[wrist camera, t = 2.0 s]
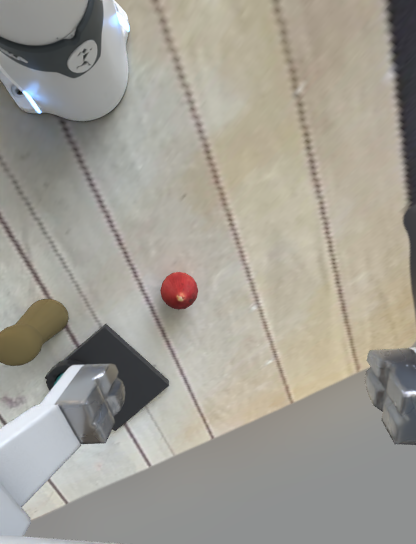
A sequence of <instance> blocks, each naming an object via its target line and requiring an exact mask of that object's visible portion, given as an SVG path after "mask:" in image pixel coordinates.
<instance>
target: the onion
mask: <svg viewBox="0 0 416 544" xmlns="http://www.w3.org/2000/svg"><path fill="white" fill-rule="evenodd" d="M197 293H198V289H197V284H196V282H195V281H194V279H193V278H192V277H191V276H189V275H188V274H186V273H181V272H176V273H172V274H170V275H169V276H167V277H166V279H165V280H164V281H163V283H162V287H161V296H162V299H163V300H164V302H165V303H166V304H167V305H168V306H170V307H171V308H174V309H185V308H187V307H189V306H190V305H192V304H193V302H194V301H195V300H196V298H197Z"/></svg>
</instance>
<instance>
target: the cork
mask: <svg viewBox="0 0 416 544" xmlns="http://www.w3.org/2000/svg"><path fill="white" fill-rule="evenodd" d="M68 319H69V318H68V312H67V310H66V308H65V307H64V306H63V305H62V304H61V303H59V302H58V301H56V300H52V299H42V300H39V301H37V302H35V303H34V304H32V305H31V307H30V308H29V309H28V310H27V311H26V312H25V314H24V315H23V316H22V317H21V318H20V320H19V321H18V322H17V323H16V324H15V325H13V326H10V327H7V328H5V329H4V330H2V331H1V332H0V362H1V363H3V364H5V365H10V366H19V365H23V364H26V363H28V362H30V361H31V360H33V359H34V358H35V357H36V356H37V355H38V353H39V352H40V350H41V347H42V344H44V343H45V342H46V341H48V340H49V339H50V338H52V337H53V336H54V335H56V334H57V333H58V332H60V331H61V330H62V329H63V328H64V327H65V326H66V325H67V322H68Z"/></svg>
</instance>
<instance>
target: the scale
mask: <svg viewBox="0 0 416 544" xmlns="http://www.w3.org/2000/svg"><path fill="white" fill-rule="evenodd" d="M86 364H115V365H116V367H117V369H118V371H119V372H118V374H117V377H118V378H119V379H120V380H121V381H123V384H124V386H125V399H124V403H123V406H122V408H121V410H120V411H119V412H118V413H117V414H116V415H115V416H114V422H115V424H114V426H113V428H112V429H113V430H114V431H116V430H117V429H118V428H119V427H121V426H122V425H123V424H124V423H125V422H126V421H128V420H129V419H130V418H131V417H132V416H133V415H135V414H136V413H137V412H138V411H139V410H141V409H142V408H143V407H144V406H145V405H146V404H148V403H149V402H150V401H151V400H152V399H153V398H155V397H156V396H157V395H158V394H159V393H161V392H162V391H163V390H164V389H165V388H166V387H168V386H169V381H168V380H167V379H166V378H165V377H164V376H163V375H162V374H161V373H160V372H159V371H157V370H156V369H155V368H154V367H153V366H152V365H151V364H150V363H149V362H148V361H146V360H145V359H144V358H143V357H142V356H141V355H140V354H139V353H138V352H136V351H135V350H134V349H133V348H132V347H131V346H130V345H129V344H128V343H127V342H125V341H124V340H123V339H122V338H121V337H120V336H119V335H118V334H117V333H116V332H114V331H113V330H112V329H111V328H110V327H109V326H108V325H107V324H105V325H104V326H103V327H101V328H100V329H99V330H98V331H97V332H96V333H94V334H93V335H92V336H91V337H90V338H89V339H87V340H86V341H85V342H84V343H83V344H82V345H80V346H79V347H78V348H77V349H76V350H74V351H73V352H72V353H71V354H70V355H69V356H67V357H66V358H65V359H64V360H63V361H61V362H59V363H58V364H56V365H55V366H54V367H53V368H52V369H51V371H50V372H49V373H48V374H47V375H46V377H45V378H46V379H47V381H46V383H47V386H48V388H49V390H51V389H52V388H53V386H54V383H55V382H56V380H57V378H58V377H59V375H61V374H62V373H65V371H66V370H67V369H68V368H69V367H70V366H72V365H86Z"/></svg>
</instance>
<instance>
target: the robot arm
mask: <svg viewBox="0 0 416 544" xmlns="http://www.w3.org/2000/svg"><path fill="white" fill-rule="evenodd" d="M129 30H130V29H129V20H128V17H127V14H126V13H125V11H124V10H123V9H122V8H121V7H120V6H119V5H118V4H117V3H116V2H115V1H114V0H0V80H1V81H2V83H3V84H4V86H5V87H6V89H7V90H8V92H9V93H10V95H11V96H12V98H13V99H14V101H15V102H16V104H17V105H18V106H19V107H20V108H21V109H22V110H23V111H25V112H27V113H51V114H54V115H57V116H59V117H62V118H65V119H69V120H75V121H89V120H94V119H97V118H100V117H102V116H104V115H106V114H108V113H109V112H110V111H112V110H113V109H114V108H115V107H116V106H117V104H118V103H119V102H120V100H121V99H122V97H123V95H124V92H125V90H126V87H127V82H128V74H129V68H128V59H127V52H126V42H127V38H128V33H129ZM19 90H20V91H21V92H22V94H21V95H19V94H18V91H19ZM367 361H368V363H369V365H370V366H371V367H370V368H369V369H368V370H367V371H366V374H365V375H366V376H365V383H366V388H367V392H368V394H369V397H370V399H371V401H372V403H373V405H374V406H375V407H377V408H378V409H379V410H381V411H382V412H383V414H382V422H383V423H384V425H385V427H386V429H387V431H388V433H389V434H390V436H391V438H392V440H393V442H394V444H410V445H416V347H414V348H400V349H384V350H370V351H369V353H368V356H367ZM118 372H119V371H118V369H117V367H116V365H115V364H86V365H72V366H70V367H69V368H68V369H67V370H66V371H65V373H64V374H63V375H62V376H61V378H60V379H59V380H58V381H57V383H56V384H55V385H54V387H53V388H52V389H51V390H50V392H49V393H48V394H47V395H46V397H45V398H44V399H43V400H42V402H41V403H40V404H39V405H34V406H33V407H31V408H30V409H28V410H27V411H25V412H24V413H22V414H21V415H19V416H18V417H16V418H15V419H13V420H12V421H10V422H9V423H8V424H6V425H5V426H3V427H2V428H0V544H121V543H107V542H106V543H105V542H93V541H78V540H63V539H50V538H36V537H23V536H24V534H25V533H26V531H27V529H28V527H29V525H30V524H31V522H30V517H29V516H28V514H27V513H26V512H25V511H24V510H23V509H22V508H21V507H22V506H23V505H24V504H25V503H26V502H27V501H28V500H29V499H30V498H31V497H32V496H33V495H34V494H35V493H36V492H37V491H38V490H39V489H40V488H41V487H42V486H43V484H44V483H45V482H46V481H47V480H48V479H49V478H50V477H51V476H52V475H53V474H54V473H55V472H56V471H57V470H58V469H59V468H60V467H61V466H62V465H63V464H64V463H65V462H66V461H67V460H68V459H69V458H70V457H71V455H72V454H73V453H74V452H75V451H76V450H77V449H78V448H79V447H80V446H81V444H95V443H106V441H107V439H108V437H109V435H110V432H111V430H112V428H113V426H114V424H115V422H114V416H115V415H116V414H117V413H118V412H119V411H120V410H121V408H122V406H123V403H124V399H125V386H124V384H123V381H121V380H120V379H119V378H118V377H117V374H118Z"/></svg>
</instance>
